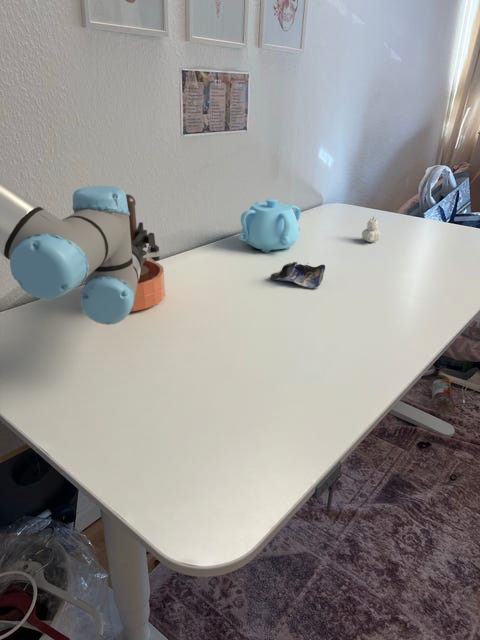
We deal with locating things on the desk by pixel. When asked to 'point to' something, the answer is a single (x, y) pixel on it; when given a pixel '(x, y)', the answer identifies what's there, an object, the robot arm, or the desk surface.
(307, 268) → the snack package
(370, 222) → the cream small figurine
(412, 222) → the desk surface
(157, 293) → the bowl
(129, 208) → the muddler
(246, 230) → the decorative pot
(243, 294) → the desk surface
